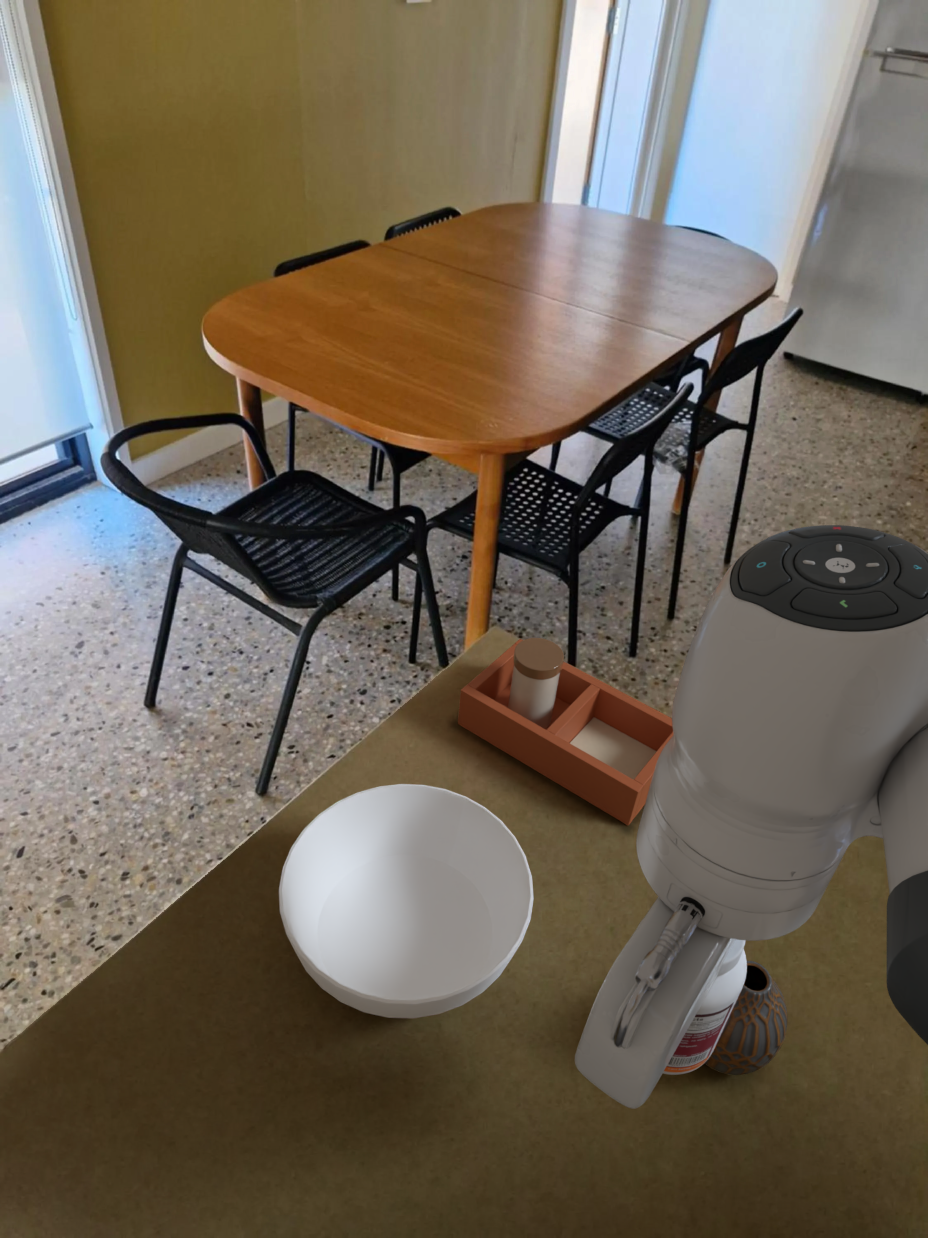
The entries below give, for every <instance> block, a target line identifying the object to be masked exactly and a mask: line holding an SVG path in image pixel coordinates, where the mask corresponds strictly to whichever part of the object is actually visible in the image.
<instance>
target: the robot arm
mask: <svg viewBox="0 0 928 1238" xmlns="http://www.w3.org/2000/svg"><path fill="white" fill-rule="evenodd" d="M671 718H672V726H673V733H674V734H673V736H672V737H671V739H670V740H669V741H668V743H667V744H666V745H665V747H664V748H663V750H662V752H661V754H660V756H659V758H658V760H657V763H656V766H655V770H654V774H653V777H652V780H651V784H650V788H649V791H648V795H647V799H646V803H645V805H644V806H643V810H642V814H641V817H640V821H639V825H638V828H637V833H636V840H635V841H636V847H635V848H636V854H637V860H638V863H639V867H640V870H641V871H642V874H643V876H644V877H645V879H646V881H647V884H648V885H649V886H650V888H651V889H652V891H653V892H654V893H655V894H656V896H657V898H656V899H655V901H654V903H653V904H652V906H651V907H650V908H649V910H648V911H647V913H646V914H645V916H644V917H643V918H644V919H643V918H642V920H641V921H640V922H641V923H640V922H639V924H638V925H639V926H637V927H636V929H635V930H634V932H633V933H632V935H631V936H630V937H629V939H628V940H627V942H626V944H625V945H624V946H623V948H622V949H621V951H620V952H619V954H618V955H617V957H616V958H615V960H614V961H613V963H612V965H611V967H610V968H609V970H608V972H607V975H606V976H605V978H604V980H603V982H602V984H601V986H600V988H599V990H598V992H597V995H596V997H595V999H594V1001H593V1004H592V1006H591V1009H590V1012H589V1015H588V1016H587V1020H586V1023H585V1025H584V1027H583V1031H582V1033H581V1036H580V1039H579V1042H578V1043H577V1048H576V1051H575V1054H574V1064H575V1067H576V1069H577V1070H578V1072H579V1073H580V1074H581V1075H582V1076H583V1077H584V1078H585V1079H587V1080H588V1081H589V1082H590V1083H591V1084H593V1086H595V1087H596V1088H597V1089H599V1090H600V1091H601V1092H603V1093H604V1094H605V1095H607V1096H608V1097H610V1098H611V1099H613V1100H614V1101H616V1102H618V1103H619V1104H620V1105H622V1106H624V1107H626V1108H629V1109H634V1110H635V1109H638V1108H640V1107H642V1106H643V1105H644V1104H645V1103H646V1101H647V1100H648V1098H650V1096H651V1095H652V1092H653V1091H654V1089H655V1087H656V1086H657V1084H658V1082H659V1080H660V1079H661V1077H662V1075H663V1074H664V1073H663V1072H664V1070H665V1068H666V1066H667V1065H668V1063H669V1061H670V1059H671V1058H672V1056H673V1054H674V1052H675V1051H676V1049H677V1047H678V1045H679V1043H680V1042H681V1040H682V1038H683V1036H684V1035H685V1033H686V1031H687V1029H688V1028H689V1026H690V1024H691V1022H692V1021H693V1019H694V1017H695V1015H696V1014H697V1012H698V1010H699V1008H700V1007H701V1005H702V1003H703V1001H704V1000H705V998H706V996H707V994H708V993H709V991H710V989H711V987H712V985H713V984H714V982H715V980H716V978H717V976H718V973H719V971H720V968H721V966H722V964H723V962H724V960H725V958H726V956H727V955H728V953H729V951H730V949H731V948H732V946H733V944H734V942H735V941H736V939H737V940H746V942H747V941H750V942H751V941H755V942H757V941H768V940H773V939H778V938H781V937H784V936H786V935H788V934H790V933H792V932H795V931H796V930H798V929H799V928H801V927H802V926H803V925H804V924H806V923H807V921H808V920H810V918H811V917H812V916H813V915H814V913H815V912H816V909H817V908H818V906H819V904H820V902H821V900H822V899H823V895H824V894H825V892H826V890H827V888H828V886H829V885H830V882H832V881H831V880H832V879H833V877H834V875H835V873H836V871H837V869H838V868H839V866H840V863H841V862H842V859H843V858H844V855H845V854H846V852H847V850H848V848H849V846H850V845H851V844H852V843H853V842H855V840H858V839H860V838H864V837H875V838H879V839H882V840H883V841H882V843H883V851H884V859H885V867H886V875H887V885H888V893H889V895H888V897H887V900H886V901H887V902H886V988H887V989H886V990H887V992H888V993H887V994H888V996H889V999H890V1001H891V1002H892V1005H893V1006H894V1007H895V1009H896V1011H897V1012H898V1013H899V1014H900V1015H901V1017H902V1018H903V1019H904V1020H905V1022H906V1023H907V1024H908V1025H909V1026H910V1028H911V1029H912V1030H913V1031H914V1032H915V1034H916V1035H917V1036H918V1037H919V1038H920V1039H921V1040H922V1041H923V1042H924V1044H926V1045H927V1046H928V552H927V551H925V550H924V549H922V548H921V547H919V546H917V544H914V543H913V542H910V541H908V540H906V539H905V538H902V537H899V536H897V535H894V534H891V533H887V532H884V531H880V530H877V529H872V528H867V527H862V526H853V525H844V524H843V525H842V524H821V525H810V526H809V525H808V526H803V527H797V528H791V529H788V530H785V531H781V532H778V533H775V534H773V535H771V536H769V537H766V538H765V539H762V540H760V541H759V542H757V543H756V544H754V545H752V546H751V547H750V548H749V549H747V550H746V551H745V552H744V553H742V554H741V555H740V556H739V557H738V558H737V559H736V560H735V561H734V562H733V563H732V565H731V566H730V567H729V568H728V569H727V571H726V572H725V573H724V575H723V576H722V577H721V579H720V581H719V582H718V584H717V586H716V587H715V589H714V591H713V592H712V594H711V596H710V598H709V599H708V602H707V604H706V606H705V608H704V611H703V613H702V615H701V617H700V620H699V622H698V624H697V627H696V630H695V632H694V634H693V637H692V640H691V642H690V645H689V648H688V650H687V653H686V657H685V660H684V663H683V665H682V669H681V672H680V676H679V680H678V683H677V687H676V690H675V693H674V697H673V701H672V708H671Z"/></svg>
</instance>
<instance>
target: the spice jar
mask: <svg viewBox="0 0 928 1238" xmlns="http://www.w3.org/2000/svg"><path fill="white" fill-rule="evenodd" d="M522 640H523V641H521V642H520V643H519V644H518V645H517V646H516V648H515V651H514V658H513V663H514V666H513V673H512V680H511V687H510V695H509V702H508V708H509V709H510V710H512V711H514V712H516V713H517V714H519V715H521V716H523V717H524V718H526V719H528V720H530V721H531V722H533V723H535V724H537V725H538V726H540V727H542V728H544V729H545V728H547V727H548V726H549V724H550V723H551V719H552V714H553V709H554V703H555V698H556V692H557V687H558V682H559V676H560V671H561V670H562V666H563V661H565V660H564V659H565V655H564V654H565V653H564V651H563V649H562V648H561V646H559V645H558V644H557V643H556V642H555V641H552V640H549V639H548V638H543V637H529V638H526V639H522Z"/></svg>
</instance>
